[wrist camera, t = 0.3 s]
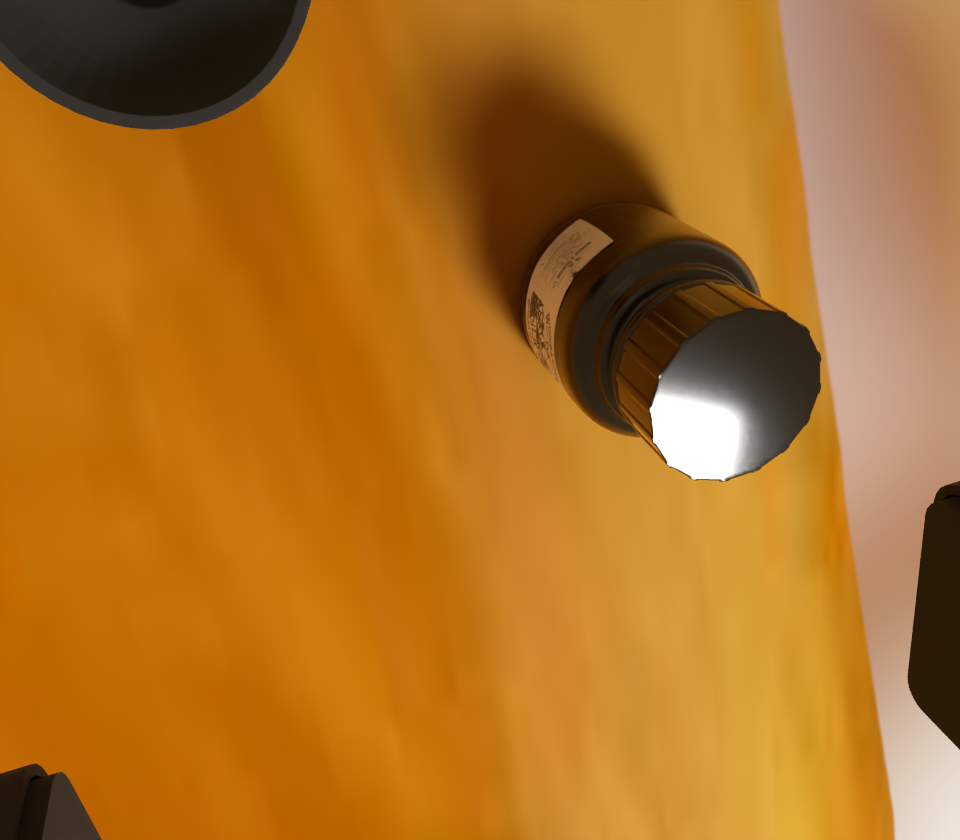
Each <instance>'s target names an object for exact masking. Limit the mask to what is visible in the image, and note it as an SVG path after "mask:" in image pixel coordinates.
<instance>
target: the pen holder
mask: <svg viewBox="0 0 960 840" xmlns="http://www.w3.org/2000/svg"><path fill="white" fill-rule="evenodd" d="M310 3H311V0H0V61H1V62H2V63H3V64H4V65H5V66H6V67H7V68H8V69H9V70H10V71H12V72H13V73H14V74H15V75H17V76H18V77H19V78H20V79H22V80H23V81H24V82H25V83H27V84H28V85H29V86H30V87H32V88H33V89H35V90H36V91H38V92H40V93H41V94H43V95H44V96H46V97H47V98H49V99H51V100H52V101H54V102H56V103H58V104H60V105H62V106H64V107H66V108H68V109H70V110H72V111H74V112H76V113H78V114H81V115H84V116H87V117H89V118H92V119H95V120H98V121H101V122H105V123H109V124H114V125H118V126H123V127H129V128H139V129H174V128H180V127H187V126H193V125H197V124H200V123H203V122H207V121H210V120H213V119H216V118H218V117H220V116H223V115H225V114H227V113H229V112H231V111H233V110H235V109H237V108H238V107H240V106H241V105H243V104H244V103H246V102H247V101H249V100H250V99H252V98H253V97H255V96H256V95H257V94H258V93H259V92H260V91H261V90H262V89H263V88H264V87H265V86H266V85H268V84H269V83H270V82H271V80H272V79H273V78H274V77H275V75H276V74H277V73H278V72H279V70H280V69H281V68H282V66H283V65H284V64H285V62H286V60H287V58H288V57H289V55H290V53H291V52H292V50H293V48H294V46H295V44H296V42H297V40H298V37H299V35H300V33H301V30H302V28H303V26H304V23H305V19H306V16H307V13H308V9H309V6H310Z"/></svg>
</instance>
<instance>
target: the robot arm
mask: <svg viewBox="0 0 960 840" xmlns="http://www.w3.org/2000/svg"><path fill="white" fill-rule="evenodd" d="M909 660H910V661H909V668H908V684H909V688H910V691H911V694H912V696H913V698H914V700H915V701H916V703H917V705H918V706H919V707H920V709H921V710H922V711H923V712H924V713H925V714H926V715H927V716H928V717H929V718H930V719H931V720H932V721H933V722H934V723H935V724H936V725H937V727H938V728H939V729H940V730H941V731H942V732H943V733H944V734H945V735H946V736H947V737H948V738H949V739H950V740H951V741H952V742H953V743H954V744H955V745H956V746H957V747H958V748H959V749H960V481H959V482H956V483H952V484H949V485H946V486H944V487H941V488H940V489H939V491H938V492H937V493H936V496H935V499H934V503H933V504H931V505H930V506H929V507H928V508H927V511H926V515H925V523H924V533H923V541H922V550H921V559H920V569H919V577H918V587H917V596H916V606H915V614H914V623H913V632H912V641H911V650H910V659H909ZM0 840H102V839H101V838H100V836H99V834H98V832H97V830H96V828H95V826H94V825H93V823H92V821H91V819H90V817H89V815H88V814H87V812H86V810H85V808H84V806H83V804H82V803H81V801H80V799H79V797H78V795H77V793H76V792H75V790H74V788H73V786H72V784H71V782H70V780H69V779H68V778H67V776H66V775H65V774H64V773H62V772H59V773H55V774H52V775H49V776H48V775H47V773H46V772H45V770H44V769H43V768H42V767H41V766H39V765H38V764H31V765H28V766H24V767H21V768H18V769H15V770H11V771H8V772H5V773H2V774H0Z"/></svg>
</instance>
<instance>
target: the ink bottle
mask: <svg viewBox="0 0 960 840" xmlns="http://www.w3.org/2000/svg"><path fill="white" fill-rule="evenodd" d="M522 320H523V326H524V330H525V334H526V337H527V340H528V342H529V344H530V346H531V348H532V350H533V352H534V354H535V355H536V357H537V358H538V360H539V361H540V362H541V363H542V365H543V366H544V367H545V368H546V369H547V371H548V372H549V373H550V374H551V375H552V376H553V378H554V379H555V380H556V381H557V382H558V383H559V385H560V386H561V387H562V388H563V389H564V390H565V392H566V393H567V394H568V395H569V396H570V397H571V399H572V400H573V401H574V402H575V403H576V404H577V405H578V407H579V408H580V409H581V410H582V411H583V412H584V413H585V414H586V415H587V416H588V417H589V418H590V419H592V420H593V421H594V422H595V423H597V424H598V425H600V426H602V427H604V428H605V429H608V430H610V431H612V432H615V433H618V434H621V435H625V436H631V437H640V438H642V439H643V440H644V441H645V442H646V443H647V444H648V445H649V446H650V447H651V448H652V449H653V450H654V451H655V453H656V454H657V455H658V456H659V457H660V458H661V459H662V460H663V461H664V462H665V463H666V464H667V465H668V466H669V467H670V468H674V469H676V470H678V471H679V472H681V473H683V474H685V475H687V476H688V477H689V478H690V479H693V480H699V479H701V480H719V481H721V482H723V481H728V480H730V479H732V478H735V477H738V476H741V475H744V474H747V473H750V472H752V473H753V472H756V471H758V470H759V469H761V467H762V466H764V465H765V464H767V463H768V462H769V461H771V460H772V459H774V458H775V457H776V456H778V455H779V454H780V453H783V452H785V451H786V450H787V449H788V447H789V445H790V444H791V442H792V441H793V440H794V439H795V437H796V436H797V435H798V433H799V432H800V431H801V430H802V428H803V427H804V426H805V425H806V424H807V423H808V421H809V419H810V414H811V412H812V409H813V407H814V404H815V401H816V398H817V396H818V394H819V393H820V390H821V383H820V362H821V355H820V353H819V352H818V351H817V349H816V346H815V344H814V342H813V340H812V338H811V336H810V331H809V330H808V329H807V328H806V327H805V326H804V325H802V324H800V323H799V322H797V321H795V320H794V319H792V318H791V317H789V316H788V315H787V313H786V312H784V311H782V310H781V309H779V308H777V307H775V306H774V305H772V304H770V303H769V302H767V301H765V300H764V299H762V298H761V294H760V291H759V287H758V285H757V282H756V280H755V278H754V276H753V274H752V272H751V270H750V269H749V267H748V266H747V265H746V263H745V262H744V261H743V260H742V258H741V257H740V256H739V255H738V254H736V253H735V252H734V251H733V250H732V249H730V248H729V247H727V246H726V245H724V244H723V243H721V242H719V241H717V240H716V239H714V238H712V237H710V236H708V235H706V234H704V233H702V232H700V231H699V230H697V229H695V228H693V227H691V226H689V225H687V224H685V223H683V222H681V221H680V220H678V219H676V218H674V217H672V216H670V215H668V214H666V213H664V212H662V211H660V210H658V209H656V208H653V207H650V206H646V205H642V204H636V203H613V204H607V205H602V206H598V207H595V208H592V209H589V210H586V211H584V212H582V213H580V214H578V215H576V216H574V217H572V218H571V219H569V220H567V221H566V222H564V223H563V224H562V225H560V226H559V227H558V228H557V229H556V230H554V231H553V232H552V233H551V234H550V235H549V236H548V237H547V239H546V240H545V241H544V242H543V244H542V245H541V246H540V248H539V249H538V251H537V252H536V254H535V256H534V258H533V260H532V262H531V264H530V267H529V269H528V272H527V275H526V278H525V282H524V287H523V293H522Z"/></svg>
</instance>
